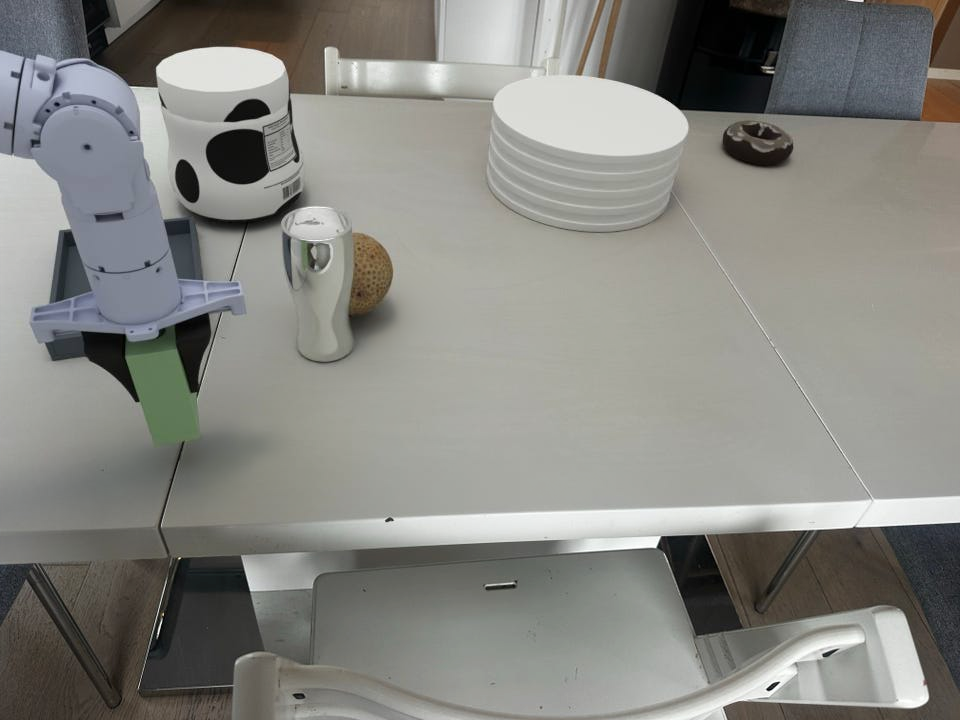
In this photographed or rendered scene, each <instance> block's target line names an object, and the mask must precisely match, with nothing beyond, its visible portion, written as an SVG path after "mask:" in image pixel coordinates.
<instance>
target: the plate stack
mask: <svg viewBox="0 0 960 720" xmlns="http://www.w3.org/2000/svg"><path fill="white" fill-rule="evenodd" d="M689 128H690V127H689V122H688V119H687V117H686V116H685V115H684V113H683V112H682V111H681V110H680V109H679V108H678V107H677V106H675V105H674V104H673V103H671V102H670V101H668V100H666V99H665V98H663V97H661V96H660V95H658V94H656V93H653V92H651V91H649V90H647V89H644V88H641V87H638V86H635V85H632V84H628V83H625V82H621V81H618V80H617V81H616V80H612V79H608V78H603V77H602V78H601V77H594V76H588V75H578V74H577V75H576V74H575V75H573V74H570V75H569V74H555V75H554V74H551V75H549V74H548V75H540V76H533V77H527V78H523V79H520V80H515V81H514V82H512V83H508V84H507V85H505V86H504V87H502V88H500V90H498V92H497V93H496V94H495V96H494V98H493V101H492V116H491V123H490V135H489V148H488V156H487V168H486V182H487V185H488V188H489V190H490V191H491V193H492V194H493V195H494V197H496V199H497V200H498V201H499V202H500V203H502V204H503V205H504V206H506V207H507V208H508V209H510V210H512V211H513V212H515V213H517V214H519V215H521V216H523V217H525V218H527V219H529V220H532V221H535V222H537V223H541V224H544V225H547V226H550V227H554V228H559V229H564V230H568V231H569V230H570V231H577V232H585V233H586V232H588V233H612V232H622V231H627V230H632V229H636V228H639V227H642V226H645V225H647V224H650V223H651V222H653V221H655V220H656V219H658V218H659V217H660V216H661V215H663V213H664V212H665V210H666V209H667V207H668V204H669V200H670V197H671V192H672V189H673V187H674V183H675V177H676V175H677V172H678V169H679V165H680V160H681V158H682V154H683V151H684V147H685V146H684V145H685V143H686V140H687V137H688V133H689Z"/></svg>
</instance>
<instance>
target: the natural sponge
mask: <svg viewBox="0 0 960 720" xmlns="http://www.w3.org/2000/svg"><path fill="white" fill-rule="evenodd" d="M352 233H353V240H354V248H355V279H354V287H353V293H352V298H351V304H350V312H349V316H354V317H355V316H363V315H365V314H368V313H369V312H371V311H372V310H374V309H375V308H377V306H379V305H380V304H381V302H382V301H384V298H386V296H387V294H388V292H389V291H390V288H391V285H392V283H393V277H394V267H393V262H392V259H391V257H390V254H389V253H388V251H387V250H386V248H385V247H384V246H383V245H382V244H381V243H380V242H379V241H378V240H377V239H375V238H373V236H370V235H368V234H366V233H362V232H352Z"/></svg>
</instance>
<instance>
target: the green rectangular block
mask: <svg viewBox="0 0 960 720" xmlns="http://www.w3.org/2000/svg"><path fill="white" fill-rule="evenodd" d="M125 358H126V361H127V364H128V367H129V370H130V373H131V376H132V379H133V382H134V385H135V388H136V391H137V394H138V397H139V400H140V402H139V404H140V405H141V409H142V412H143V416H144V418H145V421H146V424H147V427H148V431H149V433H150V436H151V439H152V443H153V445H154V447H160V446H166V445H167V446H168V445H173V444H177V443H181V442H188V441H193V440H199V439H201V429H200V420H199V419H200V418H199V405H198V396H197V392H196V393H191V392H190V389H189V385H188V381H187V373H186V368H185V364H184V361H183V358H182V355H181V352H180V350H179V347H178V344H177V339H176V324H173V325H171V326H168V327H165V328H162V329H160V330H159V335H158V336H157V337H156V338H154V339H150V340H144V341H137V342H131V341H128V339H127V336H126V334H125Z"/></svg>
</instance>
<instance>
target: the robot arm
mask: <svg viewBox="0 0 960 720" xmlns="http://www.w3.org/2000/svg"><path fill="white" fill-rule="evenodd" d="M144 148H145V147H144V143H143V141H141V110H140V106H139V103H138V101H137V98H136V95H135V92H134V91H133V90H132V88H131V87H130V86H129V83H127V82H126V81H125V80H124V79H123V78H122V77H121V76H119V74H117V73H116V72H114V71H112V70H111V69H109V68H107V67H106V66H103V65H99V64H97V63H96V62H94V60H92V59H89V58H86V57H85V58H84V57H80V58H79V57H76V58H75V57H74V58H67V59H64V60H62V61H58V62H57V60H56V59H55V58H52V57H49V56H45V55H42V54H36V57H35V59H32V58H28V57H26V58H25V56H21V55H18V54H15V53H11V52H7V51H5V50H1V49H0V154H3V155H7V156H11V157H16V158H21V159H26V160H34V161H35V162H36V164H37V166H38V167H39V168H40V169H41V170H42V171H43V172H44V173H45V174H46V175H47V176H49V177H50V178H51V179H52V180H54V181H55V182H56V183H57V186H58V188H59V192H60V194H61V196H60V197H61V199H60V201H61V205H62V207H63V210H64V213H65V215H66V219H67V222H68V225H69V229H71V231H72V233H73V236H74V239H75V242H76V245H77V248H78V251H79V254H80V257H81V260H82V263H83V266H84V268H85V271H86V274H87V277H88V280H89V283H90V286H91V289H92V292H89V293H85V294H82V295H79V296H76V297H73V298H69V299H66V300H63V301H59V302H56V303H52V304H49V303H48V304H42V305H37V306H33V307H32V308H31V312H30V319H29V325H30V328H31V331H32V332H33V335H34V337H35V339H36V341H37V342H36V343H38V344H45V343H46V342H52V341H54V340H55V336H57V335H64V334H71V333H78V332H81V334H82V337H83V342H84V353H85V355H86V356H85V357H86V358H87V359H88V361H89V362H91V363H93V364H95V365H97V366H98V367H100V368H102V369H103V370H105V371H106V372H107V373H108V374H110V375H111V376H112V377H114V378H115V380H116V381H118V382H119V383H120V384H121V385H122V387H123V388H124V389H125V390H126V391H127V392H128V394H129V395H130V397H132V399H133V401H134V402H135V403H136V404H137V403H140V400H139V397H138V394H137V391H136V388H135V385H134V382H133V379H132V376H131V373H130V370H129V367H128V364H127V361H126V358H125V334H126V336H127V339H128V341H131V342H137V341H144V340H150V339H154V338H156V337H157V336H158V335H159V330H160V329H162V328H165V327H168V326H171V325H173V324H176V339H177V344H178V347H179V350H180V352H181V355H182V358H183V361H184V364H185V368H186V373H187V381H188V385H189V389H190V392H191V393H196V394H197V393H199V392H200V382H199V377H200V370H201V365H202V361H203V358H204V355H205V352H206V350H207V348H208V346H209V345H210V342H211V337H212V327H211V320H210V315H213V314H214V315H215V314H219V313H229V312H231V315H232V316H235V317H236V316H243V315H247V307H246V301H245V296H244V295H245V294H244V290H243V285H242V281H241V280H232V281H231V280H229V281H213V280H203V281H201V280H187V279H178V278H177V274H176V270H175V266H174V262H173V258H172V254H171V249H170V245H169V241H168V237H167V233H166V229H165V225H164V217H163V213H162V209H161V204H160V201H159V197H158V193H157V188H156V186H155V184H154V182H153V180H152V179H151V170H150V165H149V163H148V161H147V159H146V158H145V155H144V154H145V153H144V151H145V149H144Z"/></svg>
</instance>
